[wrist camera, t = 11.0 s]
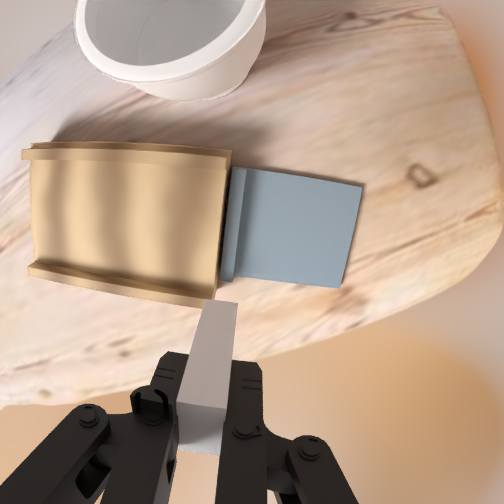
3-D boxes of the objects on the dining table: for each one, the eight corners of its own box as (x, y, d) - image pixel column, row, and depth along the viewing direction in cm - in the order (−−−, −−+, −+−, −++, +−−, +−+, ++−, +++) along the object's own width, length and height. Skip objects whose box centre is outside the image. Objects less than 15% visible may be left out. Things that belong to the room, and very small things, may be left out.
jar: (159, 14, 23) (92, -60, 9) (266, 11, 23) (272, -82, 9) (149, 112, 27) (59, 96, 12) (260, 113, 27) (262, 83, 12)
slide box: (52, 262, 32) (29, 279, 27) (50, 141, 27) (21, 144, 22) (216, 289, 32) (209, 314, 28) (232, 150, 28) (226, 151, 23)
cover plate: (222, 269, 32) (219, 280, 30) (234, 165, 29) (232, 168, 26) (336, 283, 33) (342, 295, 30) (358, 185, 29) (367, 190, 27)
